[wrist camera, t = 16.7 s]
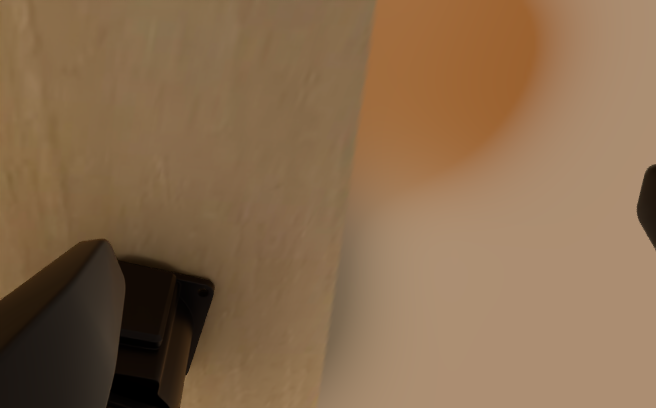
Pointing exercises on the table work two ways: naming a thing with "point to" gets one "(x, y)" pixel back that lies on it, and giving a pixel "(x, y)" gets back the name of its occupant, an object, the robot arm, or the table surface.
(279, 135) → the table surface
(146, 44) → the table surface
